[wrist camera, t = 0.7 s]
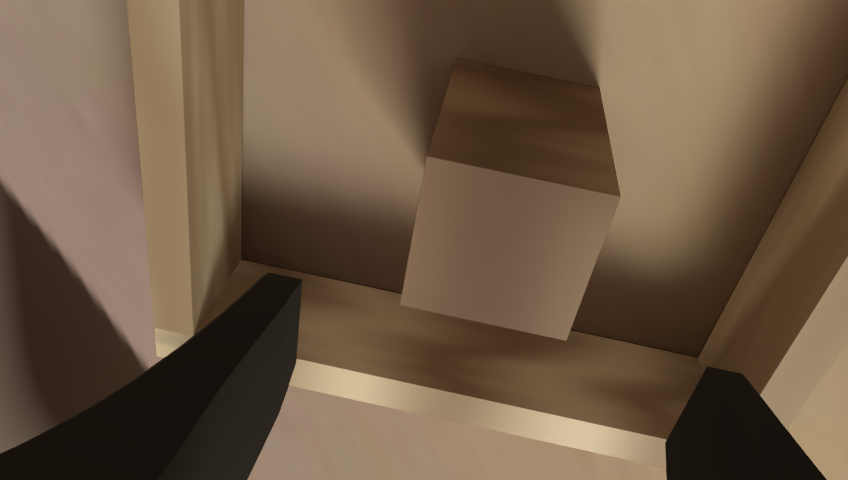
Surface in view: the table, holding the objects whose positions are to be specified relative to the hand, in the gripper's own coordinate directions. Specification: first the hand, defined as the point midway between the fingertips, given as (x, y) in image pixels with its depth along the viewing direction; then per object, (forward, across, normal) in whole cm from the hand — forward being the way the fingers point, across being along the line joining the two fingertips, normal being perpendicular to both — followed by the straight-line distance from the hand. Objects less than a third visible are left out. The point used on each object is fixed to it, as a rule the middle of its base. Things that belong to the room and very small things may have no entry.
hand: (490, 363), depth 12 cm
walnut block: (+9, 0, 0) cm, 9 cm away
